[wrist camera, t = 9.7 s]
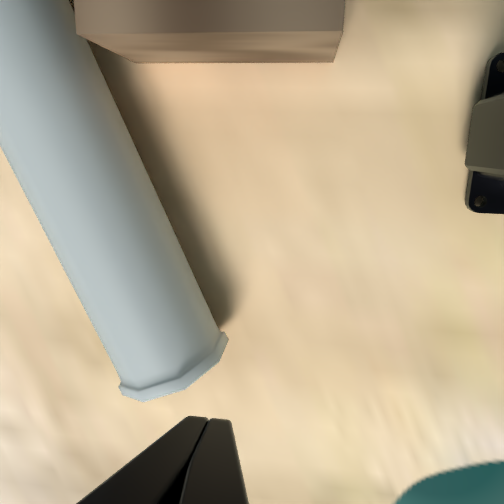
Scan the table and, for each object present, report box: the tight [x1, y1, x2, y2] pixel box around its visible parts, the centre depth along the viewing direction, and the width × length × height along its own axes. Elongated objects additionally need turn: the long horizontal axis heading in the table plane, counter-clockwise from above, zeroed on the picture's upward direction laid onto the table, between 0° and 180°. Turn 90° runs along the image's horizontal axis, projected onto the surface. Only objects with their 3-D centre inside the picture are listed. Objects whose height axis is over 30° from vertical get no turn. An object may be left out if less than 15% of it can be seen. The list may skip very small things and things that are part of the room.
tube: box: [0, 0, 229, 402], centre depth 18 cm, size 5×5×25 cm
